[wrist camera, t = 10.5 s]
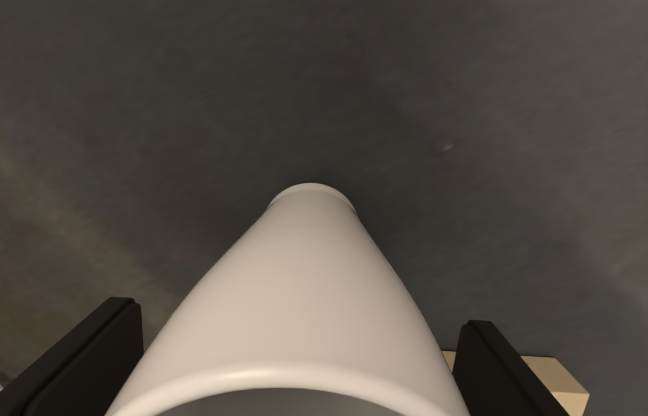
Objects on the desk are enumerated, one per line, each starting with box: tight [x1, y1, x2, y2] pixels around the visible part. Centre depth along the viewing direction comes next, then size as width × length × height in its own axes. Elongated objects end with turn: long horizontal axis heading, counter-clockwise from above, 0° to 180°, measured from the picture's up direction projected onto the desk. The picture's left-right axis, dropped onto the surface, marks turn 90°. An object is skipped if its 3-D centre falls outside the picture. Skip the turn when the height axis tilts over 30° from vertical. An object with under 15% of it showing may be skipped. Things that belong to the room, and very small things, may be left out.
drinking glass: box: [104, 183, 471, 416], centre depth 12 cm, size 7×7×15 cm
